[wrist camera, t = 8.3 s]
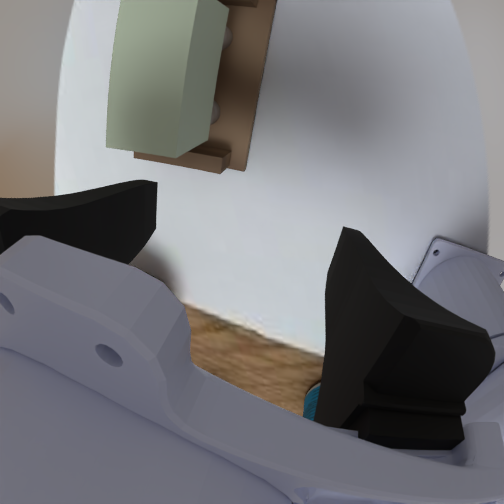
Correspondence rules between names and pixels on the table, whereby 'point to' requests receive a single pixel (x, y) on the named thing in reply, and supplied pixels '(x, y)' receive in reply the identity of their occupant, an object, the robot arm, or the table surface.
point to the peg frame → (232, 90)
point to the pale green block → (164, 75)
